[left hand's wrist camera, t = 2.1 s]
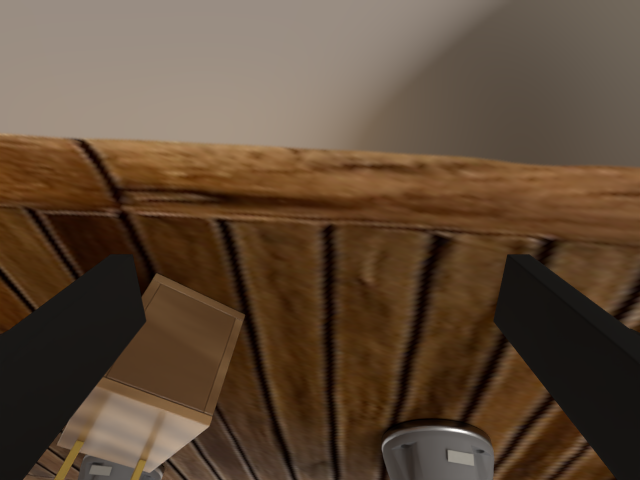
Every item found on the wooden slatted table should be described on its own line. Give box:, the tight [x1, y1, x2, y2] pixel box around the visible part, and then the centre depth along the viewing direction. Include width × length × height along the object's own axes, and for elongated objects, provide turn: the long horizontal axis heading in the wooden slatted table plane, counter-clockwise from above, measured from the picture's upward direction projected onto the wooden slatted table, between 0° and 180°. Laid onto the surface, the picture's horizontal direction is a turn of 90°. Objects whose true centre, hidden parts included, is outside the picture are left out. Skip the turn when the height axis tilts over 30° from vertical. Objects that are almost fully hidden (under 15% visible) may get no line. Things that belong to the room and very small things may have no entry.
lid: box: [54, 377, 212, 480], centre depth 30 cm, size 17×10×8 cm, turn 146°
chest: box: [103, 273, 245, 416], centre depth 36 cm, size 16×10×10 cm, turn 146°
